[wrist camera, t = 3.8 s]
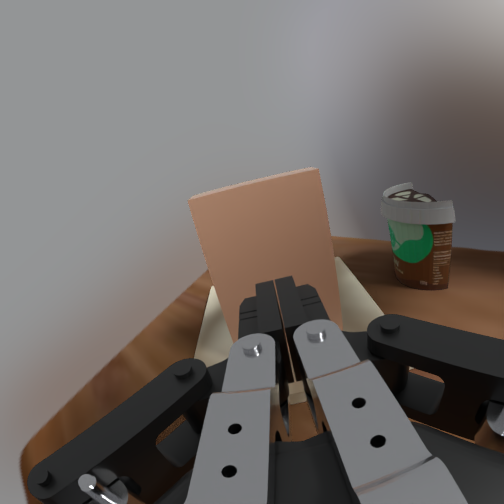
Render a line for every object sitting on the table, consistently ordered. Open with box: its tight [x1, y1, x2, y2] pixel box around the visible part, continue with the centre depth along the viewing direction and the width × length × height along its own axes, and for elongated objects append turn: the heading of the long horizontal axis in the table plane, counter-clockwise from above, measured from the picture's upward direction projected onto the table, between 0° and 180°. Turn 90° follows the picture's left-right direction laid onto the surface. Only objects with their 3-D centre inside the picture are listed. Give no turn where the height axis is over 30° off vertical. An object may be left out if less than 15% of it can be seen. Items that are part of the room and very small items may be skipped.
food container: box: [381, 183, 455, 290], centre depth 30 cm, size 12×6×10 cm, turn 172°
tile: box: [188, 167, 343, 353], centre depth 22 cm, size 9×3×14 cm, turn 91°
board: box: [194, 257, 413, 405], centre depth 30 cm, size 18×22×1 cm
